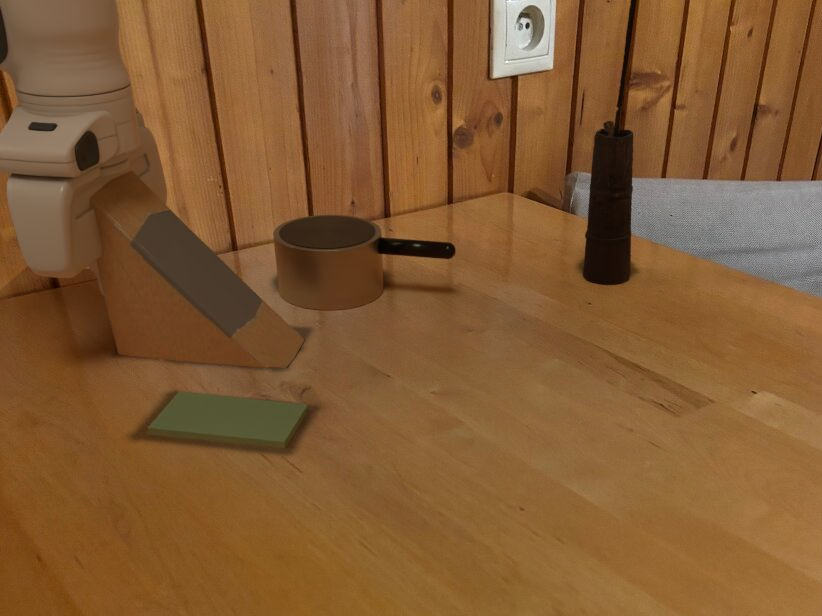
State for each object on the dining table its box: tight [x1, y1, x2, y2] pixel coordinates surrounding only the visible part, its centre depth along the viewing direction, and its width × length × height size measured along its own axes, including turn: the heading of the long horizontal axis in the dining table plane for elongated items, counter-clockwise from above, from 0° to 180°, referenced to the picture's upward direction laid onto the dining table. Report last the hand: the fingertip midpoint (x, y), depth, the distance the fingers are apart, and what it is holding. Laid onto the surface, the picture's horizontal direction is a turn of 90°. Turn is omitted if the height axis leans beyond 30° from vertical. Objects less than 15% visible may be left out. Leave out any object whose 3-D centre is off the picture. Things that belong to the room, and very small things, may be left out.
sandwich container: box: [89, 171, 306, 369], centre depth 83 cm, size 9×15×15 cm, turn 80°
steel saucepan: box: [272, 214, 457, 311], centre depth 97 cm, size 19×11×6 cm, turn 80°
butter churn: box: [582, 0, 637, 285], centre depth 95 cm, size 9×10×28 cm
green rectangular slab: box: [147, 391, 309, 449], centre depth 75 cm, size 12×7×2 cm, turn 80°
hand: (117, 290), depth 85 cm, fingers closed, pressing on sandwich container
